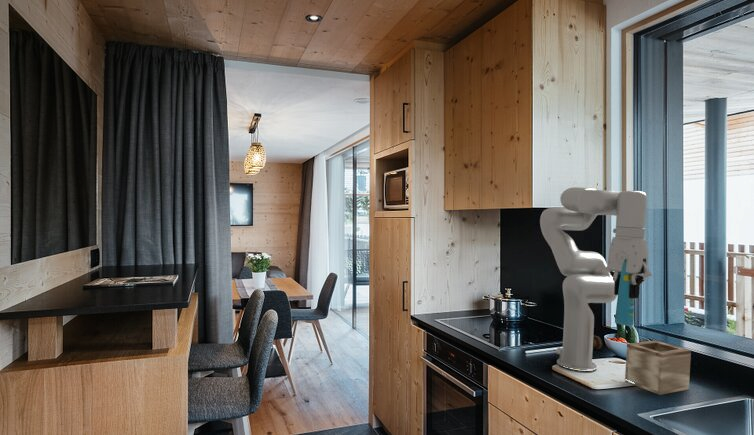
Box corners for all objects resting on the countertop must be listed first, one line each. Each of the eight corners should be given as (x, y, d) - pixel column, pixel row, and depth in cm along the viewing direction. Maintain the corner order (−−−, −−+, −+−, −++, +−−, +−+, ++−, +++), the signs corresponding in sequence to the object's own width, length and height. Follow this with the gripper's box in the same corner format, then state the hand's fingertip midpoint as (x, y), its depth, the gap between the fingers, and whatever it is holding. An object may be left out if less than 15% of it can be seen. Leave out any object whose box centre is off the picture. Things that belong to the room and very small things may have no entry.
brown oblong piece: (567, 356, 183) (594, 351, 190) (577, 353, 179) (604, 348, 186) (562, 341, 186) (588, 336, 193) (571, 337, 182) (598, 333, 189)
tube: (630, 327, 135) (634, 260, 135) (611, 324, 139) (615, 258, 138) (636, 323, 141) (640, 258, 140) (618, 320, 144) (622, 256, 144)
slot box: (624, 381, 152) (626, 343, 152) (653, 376, 158) (655, 340, 158) (660, 394, 142) (662, 354, 141) (688, 389, 147) (691, 350, 147)
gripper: (596, 231, 145) (593, 291, 146) (648, 235, 130) (644, 302, 130) (613, 231, 148) (610, 290, 149) (666, 236, 133) (662, 301, 133)
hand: (626, 295), depth 139 cm, fingers closed on tube, 4 cm apart
